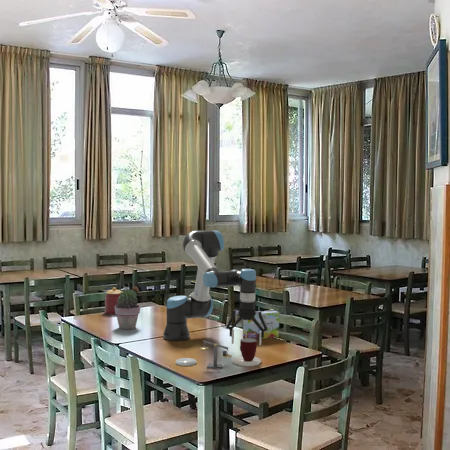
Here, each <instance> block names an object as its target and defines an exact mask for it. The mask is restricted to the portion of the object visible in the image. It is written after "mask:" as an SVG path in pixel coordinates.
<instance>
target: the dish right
mask: <svg viewBox="0 0 450 450" xmlns="http://www.w3.org/2000/svg"><path fill="white" fill-rule="evenodd" d="M231 362H232V364H233V365H235V366H238V367H244V368H245V367H248V368H249V367H257V366H260V365H261V364H262V361H261V358H259V357H256V356H255V357H254V359H253V360H252V361H250V362H248V361H244V359H243V357H242V355H240V356H235V357H233V358H232V361H231ZM259 364H260V365H259Z"/></svg>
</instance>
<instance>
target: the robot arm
mask: <svg viewBox="0 0 450 450" xmlns="http://www.w3.org/2000/svg"><path fill="white" fill-rule="evenodd" d="M182 249H183V251H184V253H185V254H186V255H187V256H189V257H190V258H191V260H192V261H193V262H194V264H195V265H196V266H197V271H196V279H195V284H194V291H192V292H191V293H190V297H188V296H187V295H174V296H171V297H169V298H168V299H167V300H166V306H165V307H166V324H165V327H164V331H163V335H162V337H163V339H165V340H168V341H185V340H188V339H190V336H191V334H190V331H189V328H188V327H189V326H188V319H198V318H202V319H203V318H207V317H209V316H210V315H211V314H212V312H213V309H214V301H213V298H212V296H211V295H210V294H209V293H210V289H211V288H221V287H223V288H224V287H235V286H236V287H240V288H239V300H240V301H239V310H237V309H233V311H232V315H231V317H230V319H229V320H228V322H227V324H226V326H225V328H226V329H227V330H229V337H231V345H232V344H234V342H235V341H234V340H235V329H234V328H235V327H236V326H237V325H238V324H239V323H240V322H241V321H243V320H251V319H252V321H254V323H255V324H256V325H257V326H258V328H259V329H260V330H261V331H260V339H258V340H259V346H261V345H262V339H261V338H263V337H264V331H267V329H268V328H267V326H266V324H265V321H264V319H263V317H262V313H261V312H262V310H259V311H257V310H256V302H255V301H256V291H257V290H256V289H257V288H256V287H257V285H256V284H257V271H256V270H255V269H254V268H253V269H252V268H242V269H241V270H239V269H231V270H227V271H226V270H225V271H220V270H219V269H218V268H217V266H216V265H215V261H216V260H215V259H216V258H218V256H219V254H220V253H219V252H222V251H223V250H224V249H225V239H224V235H223V234H222V232H220V231H219V230H215V229H214V230H213V229H211V230H192V231H190V232H188V233H187V234H186V235H185V236H184V238H183V240H182ZM255 314H257V316H259V318H260V320H261V322H262V325H263V327H264V328H263V327H262V326H261V325H260V324H259V322H258V321H257V320H256V318H255V317H254V316H255ZM236 315H239V316H238V318H237V319H236V320H235V321H234V323H232V322H233V320H234V319H235V317H236Z"/></svg>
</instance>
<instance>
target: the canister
mask: <svg viewBox="0 0 450 450" xmlns="http://www.w3.org/2000/svg"><path fill="white" fill-rule="evenodd" d="M121 292H123V290H121V289H117V287H112V288H111V289H109V290H107V291H106V292H105V295H104V298H105V300H104V313H105V314H107V315H116V314H115V306H116V305H117V303H118V302H116V301H118V298H119V296H120V293H121ZM114 302H115V303H114Z"/></svg>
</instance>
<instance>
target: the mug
mask: <svg viewBox="0 0 450 450" xmlns="http://www.w3.org/2000/svg"><path fill="white" fill-rule="evenodd" d="M257 347H258V339H252V338H244V339H243V338H241V339H240V345H239V350H240V352H241V356H242V357H243V359H244V361H248V362H250V361H252V360H253V359H254V357H256V353H257Z"/></svg>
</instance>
